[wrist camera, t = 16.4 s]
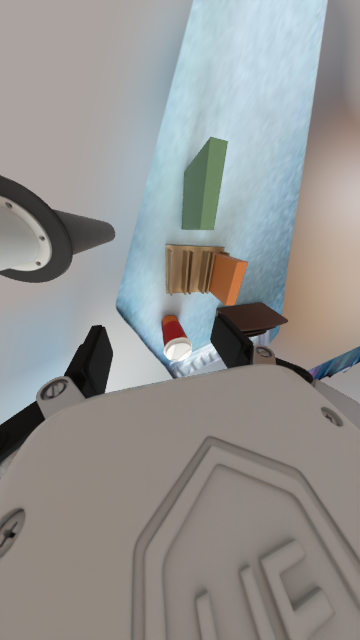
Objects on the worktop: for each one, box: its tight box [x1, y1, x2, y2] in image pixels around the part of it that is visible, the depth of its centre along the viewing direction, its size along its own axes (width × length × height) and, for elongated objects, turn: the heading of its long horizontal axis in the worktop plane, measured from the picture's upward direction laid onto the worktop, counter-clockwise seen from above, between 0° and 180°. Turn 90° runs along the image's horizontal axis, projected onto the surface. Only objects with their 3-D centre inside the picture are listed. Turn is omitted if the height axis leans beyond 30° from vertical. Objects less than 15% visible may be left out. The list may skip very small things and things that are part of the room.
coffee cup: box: [162, 315, 192, 361], centre depth 42 cm, size 8×8×15 cm
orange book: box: [209, 253, 248, 306], centre depth 35 cm, size 3×10×13 cm, turn 176°
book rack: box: [166, 245, 230, 295], centre depth 38 cm, size 17×13×5 cm
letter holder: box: [216, 303, 288, 338], centre depth 49 cm, size 10×20×14 cm, turn 90°
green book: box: [182, 137, 228, 230], centre depth 26 cm, size 3×10×13 cm, turn 176°
